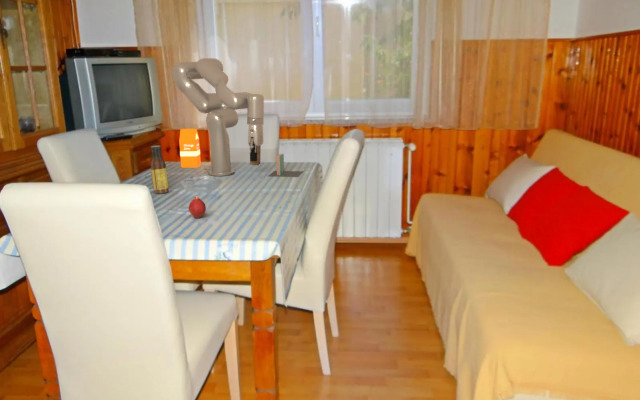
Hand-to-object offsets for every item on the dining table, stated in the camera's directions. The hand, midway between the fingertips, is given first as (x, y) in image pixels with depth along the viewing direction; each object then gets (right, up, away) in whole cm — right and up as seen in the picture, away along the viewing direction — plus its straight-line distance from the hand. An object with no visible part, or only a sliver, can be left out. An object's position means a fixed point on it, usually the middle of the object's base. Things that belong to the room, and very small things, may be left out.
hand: (255, 159), depth 246 cm
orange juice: (-39, -1, +34) cm, 51 cm away
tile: (+12, -6, +7) cm, 15 cm away
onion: (-12, -26, -64) cm, 70 cm away
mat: (+14, -7, +6) cm, 17 cm away
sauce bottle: (-37, -16, -26) cm, 48 cm away
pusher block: (0, -2, +1) cm, 2 cm away
